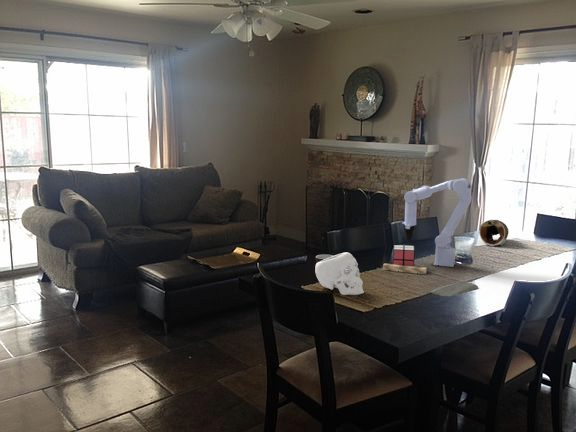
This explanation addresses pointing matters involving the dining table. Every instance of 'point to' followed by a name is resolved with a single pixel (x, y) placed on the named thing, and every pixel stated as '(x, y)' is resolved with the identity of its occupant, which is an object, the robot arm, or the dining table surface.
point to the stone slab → (454, 289)
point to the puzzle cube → (403, 255)
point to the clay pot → (493, 232)
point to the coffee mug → (322, 257)
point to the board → (404, 268)
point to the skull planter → (340, 274)
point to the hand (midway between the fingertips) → (409, 240)
